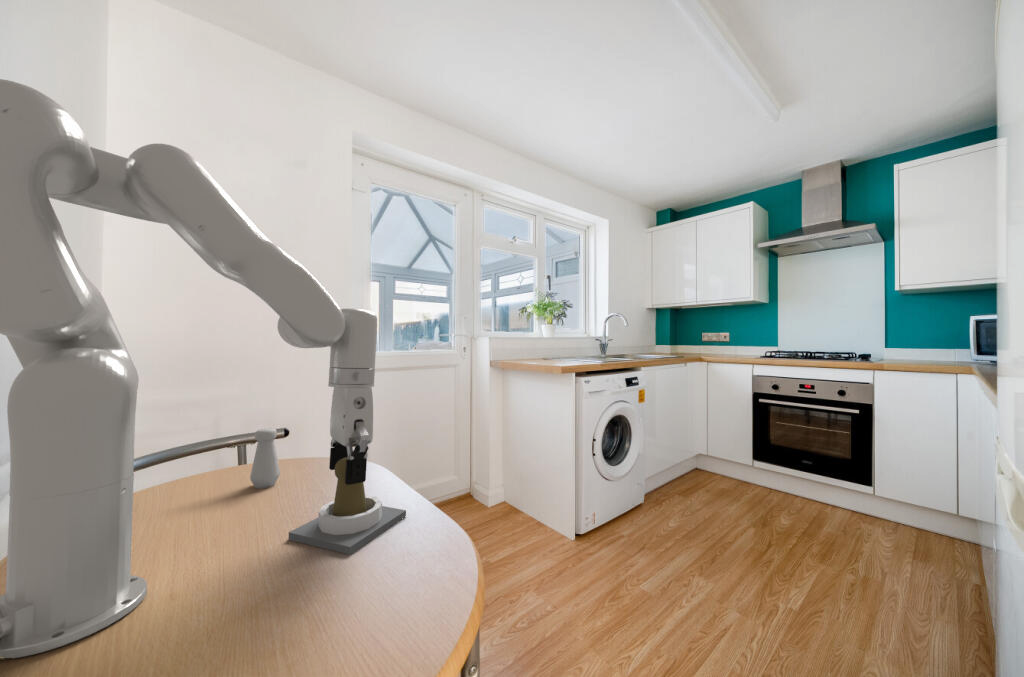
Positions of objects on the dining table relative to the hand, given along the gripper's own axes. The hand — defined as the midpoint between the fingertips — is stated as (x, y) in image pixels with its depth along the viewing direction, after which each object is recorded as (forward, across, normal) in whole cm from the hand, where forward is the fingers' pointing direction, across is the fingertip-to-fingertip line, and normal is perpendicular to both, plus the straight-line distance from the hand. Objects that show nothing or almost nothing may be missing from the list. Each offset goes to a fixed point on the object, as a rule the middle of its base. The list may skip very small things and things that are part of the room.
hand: (346, 475), depth 66 cm
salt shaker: (+10, +34, +8) cm, 36 cm away
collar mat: (+9, 0, -1) cm, 9 cm away
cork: (+8, 0, -1) cm, 8 cm away
